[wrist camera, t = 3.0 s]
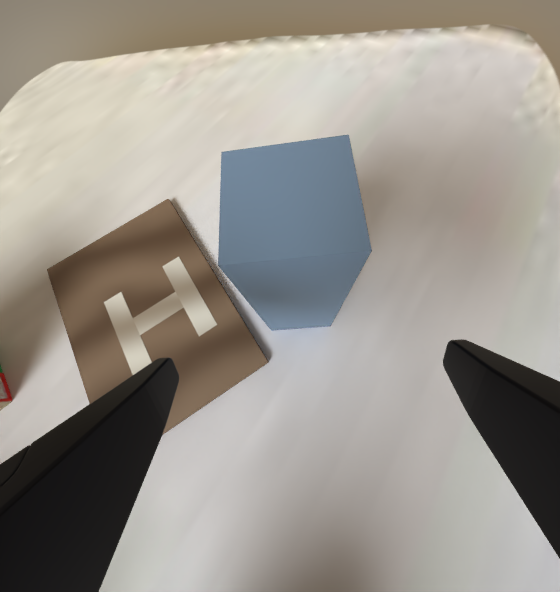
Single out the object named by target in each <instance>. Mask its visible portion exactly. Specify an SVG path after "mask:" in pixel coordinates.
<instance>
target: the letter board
mask: <svg viewBox="0 0 560 592" xmlns="http://www.w3.org/2000/svg"><path fill="white" fill-rule="evenodd" d="M47 271H48V274H49V278H50V281H51V284H52V287H53V290H54V293H55V296H56V299H57V303H58V306H59V309H60V312H61V315H62V318H63V321H64V325H65V328H66V331H67V334H68V337H69V340H70V343H71V347H72V350H73V353H74V356H75V359H76V362H77V365H78V368H79V372H80V375H81V378H82V381H83V384H84V387H85V390H86V394H87V397H88V400H89V403H90V404H91V403H92V402H94V401H95V400H97V399H98V398H100V397H101V396H103V395H104V394H106V393H107V392H109V391H110V390H112V389H113V388H115V387H116V386H118V385H119V384H121V383H122V382H124V381H125V380H127V379H128V378H129V377H131V376H132V375H134V374H135V373H137V372H138V371H140V370H141V369H143V368H144V367H146V366H147V365H149V364H150V363H152V362H153V361H155V360H156V359H158V358H166V357H169V358H171V359H172V360H173V362H174V364H175V366H176V369H177V371H178V374H179V383H178V387H177V390H176V393H175V397H174V400H173V403H172V407H171V410H170V414H169V417H168V420H167V423H166V426H165V429H164V431H163V434H164V433H166V432H167V431H169V430H170V429H172V428H173V427H175V426H176V425H177V424H179V423H180V422H182V421H183V420H185V419H186V418H188V417H189V416H191V415H192V414H194V413H195V412H197V411H198V410H199V409H201V408H202V407H204V406H205V405H207V404H208V403H210V402H211V401H213V400H214V399H216V398H217V397H218V396H220V395H221V394H223V393H224V392H226V391H227V390H229V389H230V388H232V387H233V386H235V385H236V384H238V383H239V382H240V381H242V380H243V379H245V378H246V377H248V376H249V375H251V374H252V373H254V372H255V371H257V370H258V369H259V368H261V367H262V366H264V365H265V364H267V363H268V360H267V358H266V357H265V355H264V353H263V352H262V350H261V349H260V347H259V345H258V344H257V342H256V340H255V339H254V337H253V335H252V334H251V332H250V331H249V329H248V327H247V326H246V324H245V322H244V321H243V319H242V317H241V316H240V314H239V313H238V311H237V309H236V308H235V306H234V304H233V303H232V301H231V300H230V298H229V296H228V295H227V293H226V291H225V290H224V288H223V286H222V285H221V283H220V282H219V280H218V278H217V277H216V275H215V273H214V272H213V270H212V268H211V267H210V265H209V264H208V262H207V260H206V259H205V257H204V255H203V254H202V252H201V250H200V249H199V247H198V246H197V244H196V242H195V241H194V239H193V237H192V236H191V234H190V232H189V231H188V229H187V228H186V226H185V224H184V223H183V221H182V219H181V218H180V216H179V214H178V213H177V211H176V210H175V208H174V206H173V205H172V203H171V202H170V200H169V199H167V200H165V201H163V202H162V203H160V204H158V205H157V206H155V207H153V208H151V209H150V210H148V211H146V212H145V213H143V214H141V215H139V216H138V217H136V218H134V219H133V220H131V221H129V222H127V223H126V224H124V225H122V226H121V227H119V228H117V229H115V230H114V231H112V232H110V233H109V234H107V235H105V236H103V237H102V238H100V239H98V240H97V241H95V242H93V243H91V244H90V245H88V246H86V247H85V248H83V249H81V250H80V251H78V252H76V253H74V254H73V255H71V256H69V257H68V258H66V259H64V260H62V261H61V262H59V263H57V264H56V265H54V266H52V267H50V268H49V269H47ZM163 434H162V435H163Z"/></svg>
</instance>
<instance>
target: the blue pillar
mask: <svg viewBox="0 0 560 592" xmlns="http://www.w3.org/2000/svg"><path fill="white" fill-rule="evenodd" d="M371 251H372V250H371V245H370V240H369V235H368V229H367V224H366V219H365V214H364V209H363V204H362V199H361V194H360V189H359V184H358V179H357V174H356V169H355V164H354V159H353V154H352V149H351V144H350V139H349V135H343V136H335V137H328V138H321V139H313V140H306V141H299V142H291V143H284V144H277V145H270V146H262V147H255V148H248V149H240V150H233V151H226V152H222V155H221V189H220V223H219V257H218V266H219V267H220V268H221V269H222V271H223V272H224V273H225V274H226V276H227V277H228V278H229V279H230V280H231V282H232V283H233V284H234V285H235V287H236V288H237V289H238V290H239V291H240V293H241V294H242V295H243V296H244V298H245V299H246V300H247V301H248V302H249V304H250V305H251V306H252V307H253V309H254V310H255V311H256V312H257V313H258V315H259V316H260V317H261V318H262V320H263V321H264V322H265V323H266V324H267V326H268V327H269V328H270V329H271V330H285V329H299V328H312V327H326V326H331V324H332V322H333V320H334V319H335V317H336V315H337V313H338V311H339V309H340V308H341V306H342V304H343V302H344V300H345V298H346V297H347V295H348V293H349V291H350V289H351V288H352V286H353V284H354V282H355V280H356V278H357V277H358V275H359V273H360V271H361V269H362V267H363V266H364V264H365V262H366V260H367V258H368V256H369V255H370V253H371Z"/></svg>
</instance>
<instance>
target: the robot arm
mask: <svg viewBox="0 0 560 592" xmlns="http://www.w3.org/2000/svg"><path fill="white" fill-rule="evenodd" d="M443 365H444V368H445V370H446V372H447V374H448V376H449V378H450V380H451V382H452V384H453V386H454V388H455V390H456V392H457V394H458V396H459V398H460V400H461V402H462V404H463V406H464V408H465V410H466V411H467V413H468V415H469V417H470V418H471V420H472V422H473V423H474V425H475V426H476V428H477V430H478V431H479V433H480V434H481V436H482V437H483V439H484V441H485V442H486V444H487V445H488V447H489V448H490V450H491V452H492V453H493V455H494V456H495V458H496V459H497V461H498V463H499V464H500V466H501V467H502V469H503V470H504V472H505V474H506V475H507V477H508V478H509V480H510V481H511V483H512V485H513V486H514V488H515V489H516V491H517V492H518V494H519V496H520V497H521V499H522V500H523V502H524V503H525V505H526V507H527V508H528V510H529V511H530V513H531V514H532V516H533V518H534V519H535V521H536V522H537V524H538V525H539V527H540V528H541V530H542V532H543V533H544V535H545V536H546V538H547V539H548V541H549V543H550V544H551V546H552V547H553V549H554V550H555V552H556V554H557V555H558V557H559V558H560V382H559V381H557V380H555V379H552V378H550V377H548V376H546V375H543V374H541V373H539V372H537V371H534V370H532V369H530V368H528V367H526V366H523V365H521V364H519V363H517V362H514V361H512V360H510V359H508V358H505V357H503V356H501V355H499V354H496V353H494V352H492V351H490V350H487V349H485V348H483V347H481V346H478V345H476V344H474V343H472V342H469V341H467V340H451V341H449V342H448V344H447V348H446V351H445V355H444V359H443ZM178 383H179V374H178V371H177V369H176V366H175V364H174V362H173V360H172V359H171V358H169V357H166V358H158V359H156V360H155V361H153V362H152V363H150V364H149V365H147V366H146V367H144V368H143V369H141V370H140V371H138V372H137V373H135V374H134V375H132V376H131V377H129V378H128V379H127V380H125V381H124V382H122V383H121V384H119V385H118V386H116V387H115V388H113V389H112V390H110V391H109V392H107V393H106V394H104V395H103V396H101V397H100V398H98V399H97V400H95V401H94V402H92V403H91V404H89V405H88V406H86V407H85V408H83V409H82V410H80V411H79V412H77V413H76V414H75V415H73V416H72V417H70V418H69V419H67V420H66V421H64V422H63V423H61V424H60V425H58V426H57V427H55V428H54V429H52V430H51V431H49V432H48V433H46V434H45V435H43V436H42V437H40V438H39V439H37V440H36V441H34V442H33V443H32V444H31V446H27V447H25V448H24V449H22V450H21V451H19V452H18V453H17V454H15V455H14V456H12V457H11V458H9V459H8V460H6V461H5V462H3V463H2V464H0V592H99V589H100V587H101V585H102V582H103V580H104V577H105V575H106V572H107V570H108V567H109V565H110V562H111V560H112V557H113V555H114V552H115V550H116V548H117V545H118V543H119V540H120V538H121V535H122V533H123V530H124V528H125V525H126V523H127V520H128V518H129V515H130V513H131V511H132V508H133V506H134V503H135V501H136V498H137V496H138V493H139V491H140V488H141V486H142V483H143V481H144V478H145V476H146V474H147V471H148V469H149V466H150V464H151V461H152V459H153V456H154V454H155V451H156V449H157V446H158V444H159V441H160V439H161V436H162V434H163V431H164V429H165V426H166V423H167V420H168V417H169V414H170V410H171V407H172V403H173V400H174V397H175V393H176V390H177V387H178Z"/></svg>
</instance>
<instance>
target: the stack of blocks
mask: <svg viewBox="0 0 560 592" xmlns="http://www.w3.org/2000/svg"><path fill="white" fill-rule="evenodd" d="M11 402H12V397H11V394H10V391H9V388H8V385H7V382H6V379H5V376H4V374H3V372H2V369H1V366H0V410H1V409H3V408H4V407H5V406H7V405H8V404H9V403H11Z"/></svg>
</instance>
